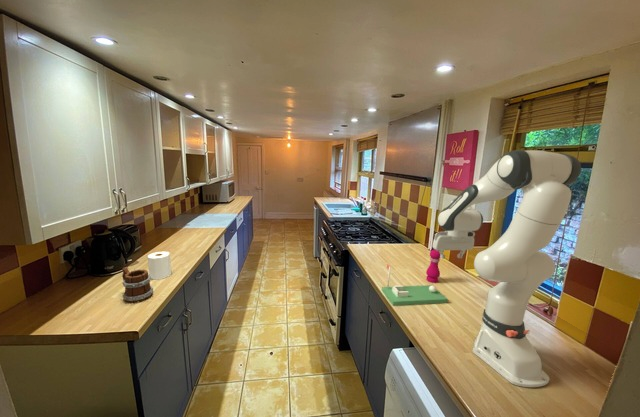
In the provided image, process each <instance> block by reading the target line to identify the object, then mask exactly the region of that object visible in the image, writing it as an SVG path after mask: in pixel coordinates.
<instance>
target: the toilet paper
mask: <svg viewBox="0 0 640 417" xmlns="http://www.w3.org/2000/svg"><path fill="white" fill-rule="evenodd" d="M147 264H148V275H149V276H150V278H151V280H163V279H165V278H168V277H170V276H171V275H172V267H171V266H172V264H171V254H170V252H169V251H156V252H152V253H150V254H148V255H147Z"/></svg>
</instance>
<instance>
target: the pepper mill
mask: <svg viewBox="0 0 640 417" xmlns="http://www.w3.org/2000/svg"><path fill="white" fill-rule="evenodd" d="M429 256H430V258H429V260H430V264H429V266H428V267H427V269H426V271H425V274H426V278H425V279H426V281H427V282H429V283H432V284H436V283H439V277H440V276H441V272H440V269H439V263H440V260H441V258H440V253H439V251H437V250H435V249H431V250H430V251H429Z"/></svg>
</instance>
